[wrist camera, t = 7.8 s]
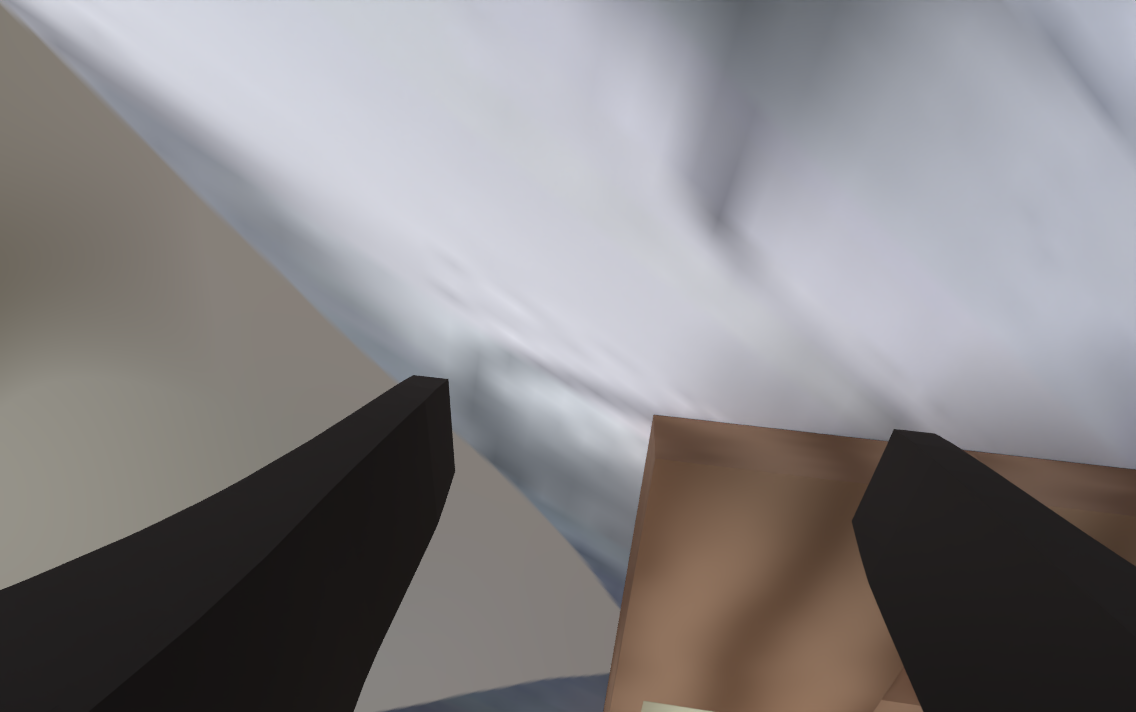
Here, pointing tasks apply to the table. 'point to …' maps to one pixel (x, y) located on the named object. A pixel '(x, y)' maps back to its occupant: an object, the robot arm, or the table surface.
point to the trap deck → (786, 569)
